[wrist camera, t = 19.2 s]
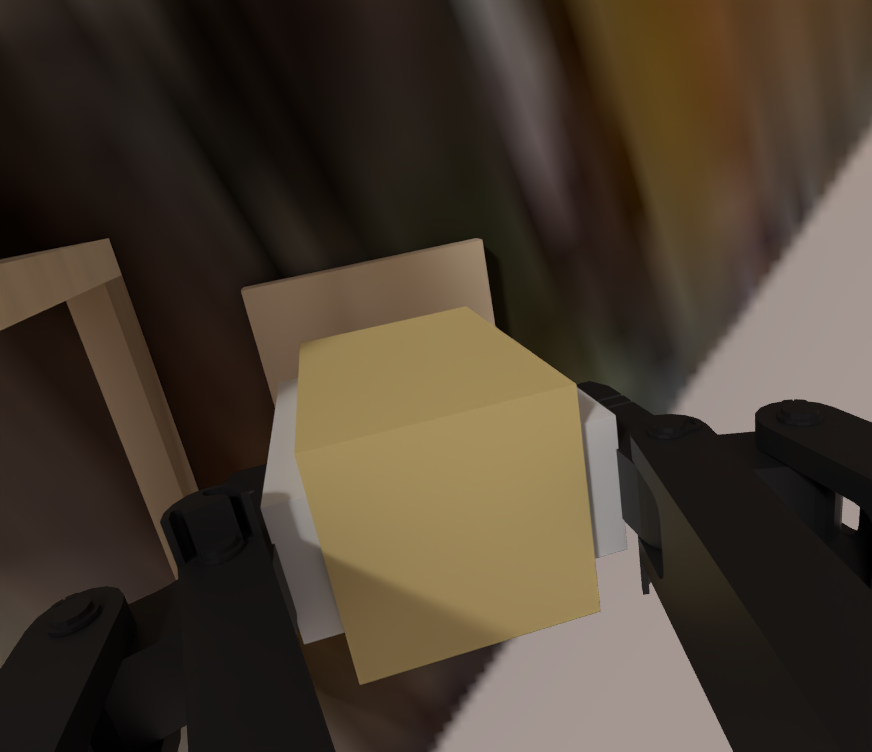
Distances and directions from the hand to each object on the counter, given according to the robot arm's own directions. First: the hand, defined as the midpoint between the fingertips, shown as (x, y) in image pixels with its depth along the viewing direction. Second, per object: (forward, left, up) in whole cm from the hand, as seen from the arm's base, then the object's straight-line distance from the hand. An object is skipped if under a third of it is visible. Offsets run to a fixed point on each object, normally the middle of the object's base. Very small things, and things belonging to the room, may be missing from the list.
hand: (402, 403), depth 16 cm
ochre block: (0, 0, 0) cm, 0 cm away
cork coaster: (0, 0, -3) cm, 3 cm away
